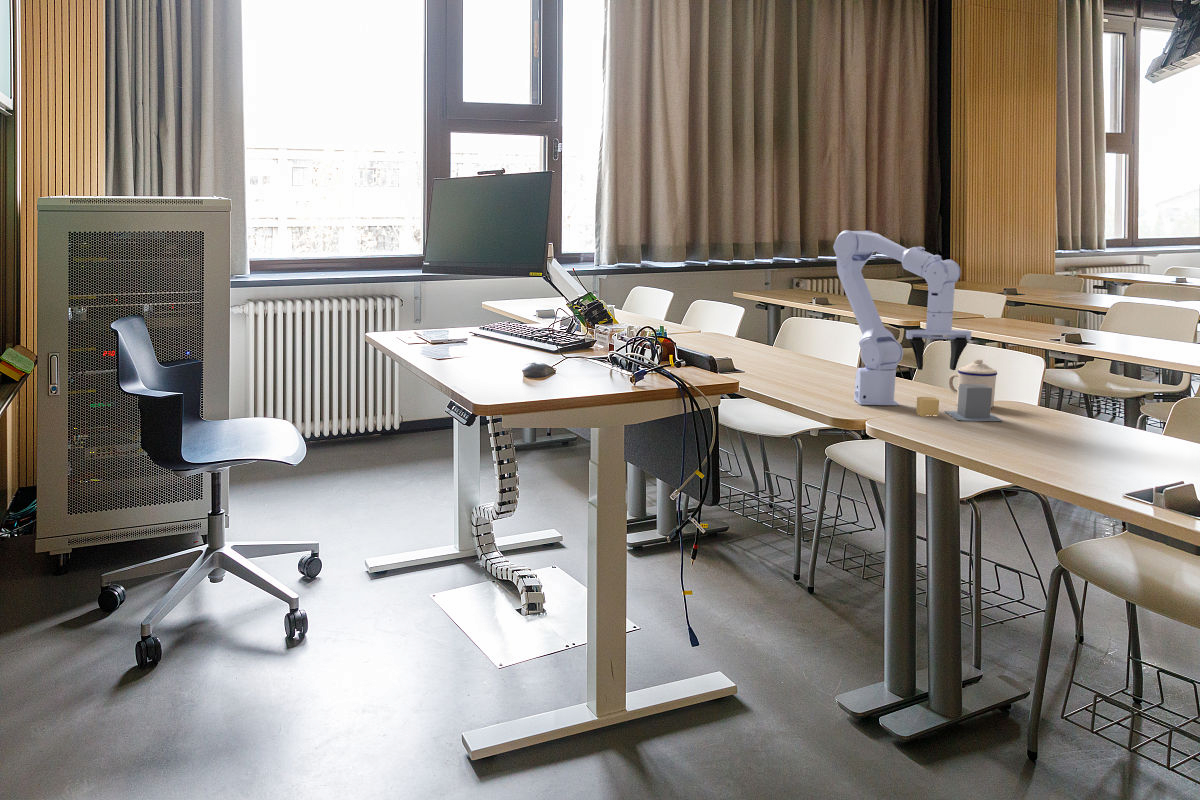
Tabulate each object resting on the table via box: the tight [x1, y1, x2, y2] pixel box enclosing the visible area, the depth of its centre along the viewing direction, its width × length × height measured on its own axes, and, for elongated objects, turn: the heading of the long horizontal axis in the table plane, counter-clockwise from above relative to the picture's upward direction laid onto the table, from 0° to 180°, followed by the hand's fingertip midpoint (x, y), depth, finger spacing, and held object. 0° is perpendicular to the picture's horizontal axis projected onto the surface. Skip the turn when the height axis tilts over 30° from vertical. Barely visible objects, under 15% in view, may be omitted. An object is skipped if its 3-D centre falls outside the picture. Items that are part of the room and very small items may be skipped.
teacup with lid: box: [948, 358, 998, 408], centre depth 234 cm, size 12×9×12 cm
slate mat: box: [944, 410, 1004, 423], centre depth 219 cm, size 10×10×1 cm
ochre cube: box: [915, 396, 940, 417], centre depth 222 cm, size 4×4×4 cm
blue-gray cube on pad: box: [957, 384, 992, 418], centre depth 219 cm, size 6×6×7 cm
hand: (936, 369), depth 223 cm, fingers open, 7 cm apart
